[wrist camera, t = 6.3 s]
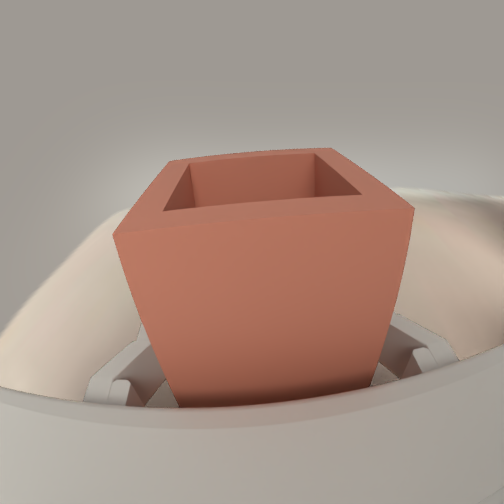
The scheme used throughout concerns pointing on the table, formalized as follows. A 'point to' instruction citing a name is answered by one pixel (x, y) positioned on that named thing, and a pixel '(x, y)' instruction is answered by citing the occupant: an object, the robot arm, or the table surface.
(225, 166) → the red square vase
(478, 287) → the table surface
